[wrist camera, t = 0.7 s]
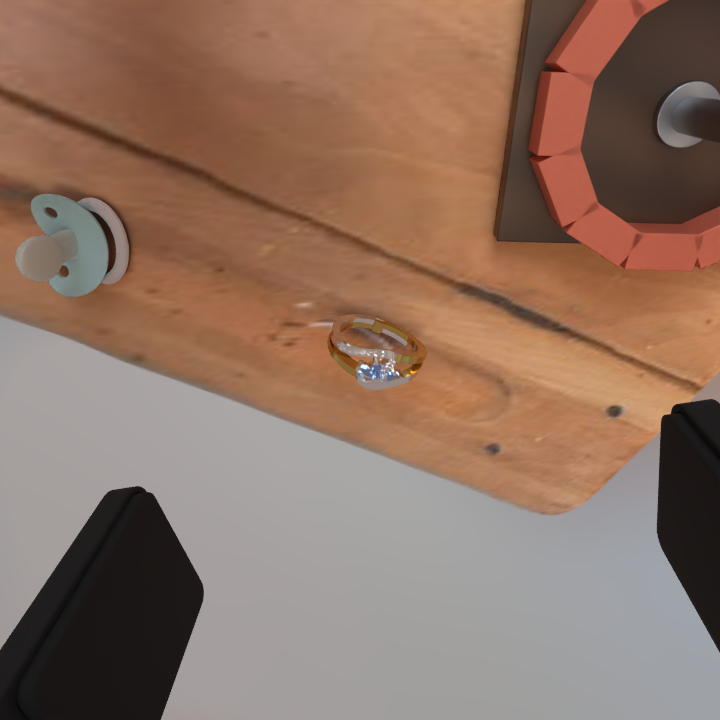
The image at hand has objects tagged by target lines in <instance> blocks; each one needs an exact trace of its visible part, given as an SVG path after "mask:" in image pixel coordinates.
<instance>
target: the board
mask: <svg viewBox="0 0 720 720" xmlns="http://www.w3.org/2000/svg"><path fill="white" fill-rule="evenodd" d="M585 2H586V0H526V5H525V12H524V19H523V26H522V34H521V41H520V48H519V55H518V62H517V70H516V77H515V84H514V91H513V98H512V105H511V113H510V120H509V127H508V134H507V141H506V148H505V156H504V163H503V170H502V177H501V184H500V191H499V199H498V206H497V213H496V220H495V227H494V236H495V238H496V240H497V241H510V242H547V243H581V242H579V241H578V240H576V239H575V238H573V237H572V236H570V235H569V234H567V233H566V232H565V231H564V230H563V229H562V228H561V227H560V226H559V225H558V224H557V222H556V221H555V220H554V219H553V218H552V216H551V214H550V211H549V209H548V206H547V203H546V201H545V198H544V196H543V193H542V190H541V188H540V185H539V183H538V180H537V177H536V175H535V172H534V170H533V167H532V164H531V162H530V159H529V157H531V156H533V155H535V154H534V153H533V152H531V151H530V150H528V148H529V142H530V135H531V129H532V123H533V117H534V110H535V104H536V98H537V92H538V85H539V79H540V73H541V72H542V71H544V72H556V71H554V70H553V69H552V68H550V67H549V66H548V65H546V64H545V61H546V59H547V58H548V56H549V55H550V53H551V52H552V50H553V49H554V47H555V46H556V44H557V43H558V42H559V40H560V39H561V37H562V36H563V34H564V33H565V31H566V30H567V28H568V27H569V25H570V24H571V22H572V21H573V19H574V18H575V16H576V15H577V13H578V12H579V10H580V9H581V7H582V6H583V4H584V3H585ZM688 81H703V82H707V83H709V84H711V85H713V86H714V87H715V88H716V89H717V91H718V92H719V94H720V0H669V1H667V2H665V3H664V4H662V5H660V6H658V7H657V8H655V9H653V10H651V11H650V12H648V13H646V14H644V15H643V16H641V18H640V19H639V20H638V22H637V23H636V25H635V26H634V27H633V29H632V30H631V31H630V33H629V34H628V36H627V37H626V38H625V40H624V41H623V42H622V44H621V45H620V47H619V48H618V49H617V51H616V52H615V53H614V55H613V56H612V58H611V59H610V60H609V62H608V63H607V64H606V66H605V67H604V68H603V70H602V71H601V73H600V74H599V75H598V77H597V78H596V79H595V81H594V84H593V89H592V94H591V99H590V104H589V108H588V113H587V118H586V123H585V128H584V133H583V138H582V143H581V148H580V150H581V153H582V156H583V159H584V162H585V165H586V168H587V171H588V174H589V177H590V180H591V183H592V185H593V188H594V191H595V194H596V197H597V200H598V203H599V204H601V205H602V206H604V207H605V208H607V209H608V210H609V211H611V212H612V213H614V214H615V215H617V216H618V217H619V218H621V219H622V220H624V221H625V222H627V223H654V224H682V223H685V222H687V221H689V220H691V219H693V218H695V217H698V216H700V215H702V214H704V213H706V212H709V211H711V210H713V209H715V208H717V207H719V206H720V143H716V142H712V141H708V140H704V139H703V140H702V141H700V142H699V143H697V144H695V145H693V146H690V147H686V148H674V147H670V146H667V145H665V144H663V143H662V142H661V141H659V139H658V138H657V137H656V135H655V132H654V128H653V118H654V113H655V110H656V108H657V106H658V104H659V102H660V101H661V99H662V98H663V97H664V96H665V94H666V93H668V92H669V91H670V90H671V89H672V88H674V87H675V86H677V85H679V84H681V83H684V82H688Z"/></svg>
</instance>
